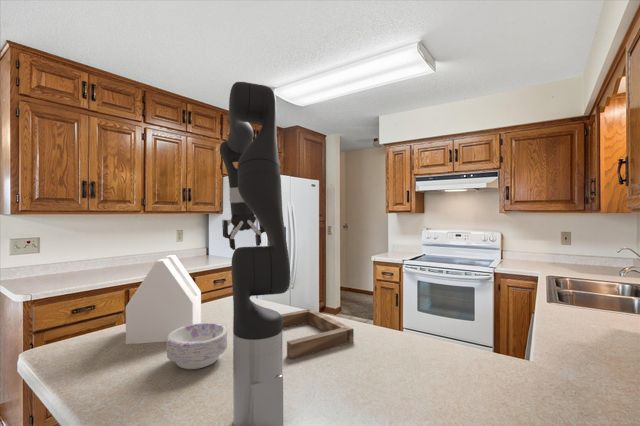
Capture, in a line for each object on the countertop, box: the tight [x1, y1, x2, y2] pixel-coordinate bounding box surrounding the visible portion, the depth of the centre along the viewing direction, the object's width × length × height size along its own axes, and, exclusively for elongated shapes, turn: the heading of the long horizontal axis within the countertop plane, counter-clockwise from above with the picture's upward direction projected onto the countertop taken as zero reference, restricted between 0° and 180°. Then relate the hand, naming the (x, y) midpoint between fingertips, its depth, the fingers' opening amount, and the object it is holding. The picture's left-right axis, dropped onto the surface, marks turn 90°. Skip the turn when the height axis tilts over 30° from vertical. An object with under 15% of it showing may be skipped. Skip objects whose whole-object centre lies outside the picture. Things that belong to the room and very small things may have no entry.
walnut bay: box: [280, 308, 355, 360], centre depth 105 cm, size 25×22×4 cm
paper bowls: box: [166, 322, 228, 370], centre depth 88 cm, size 15×15×8 cm
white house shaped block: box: [125, 254, 202, 345], centre depth 109 cm, size 19×15×25 cm
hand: (246, 247), depth 112 cm, fingers open, 8 cm apart
